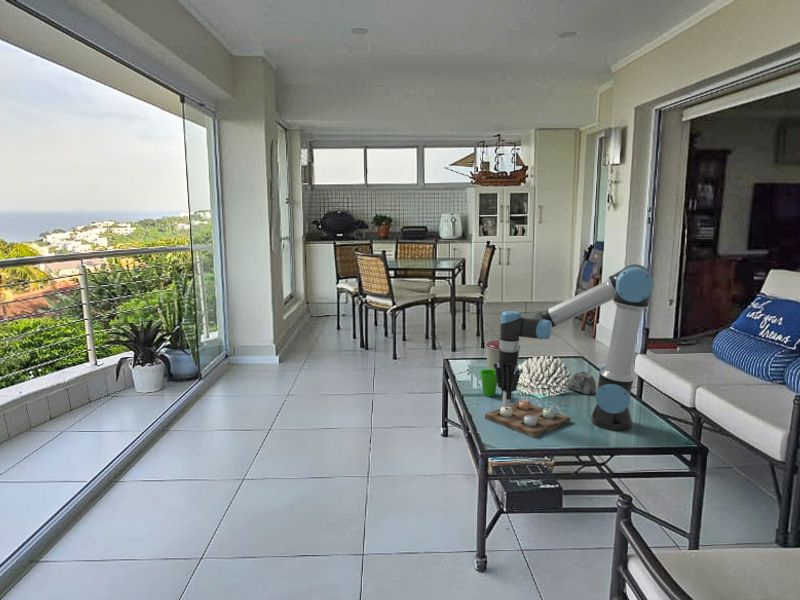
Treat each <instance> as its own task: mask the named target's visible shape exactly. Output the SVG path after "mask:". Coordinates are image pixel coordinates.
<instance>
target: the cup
mask: <svg viewBox="0 0 800 600" xmlns="http://www.w3.org/2000/svg"><path fill="white" fill-rule="evenodd" d="M479 373H480V378H481V383H482V391H483V392H482V393H483V395H485V397H487V396H493V397H494V396H495V395H496V391H497V388H498V384H497V377H496V370H493V369H488V368H484V369H480V371H479Z"/></svg>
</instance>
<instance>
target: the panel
mask: <svg viewBox="0 0 800 600" xmlns="http://www.w3.org/2000/svg"><path fill="white" fill-rule="evenodd" d="M508 407H511V408H512V417H511V418H504V417H501V416H500V408H499V409H495V410H492V411H490V412H486V413H485V414H484V419H485V418H486V419H485V420H487V419H488V421H490V420H491V422H492V421H493V423H495V422H496V423H495V424H497V423H498V424H497V425H500V424H501V426H502V425H503V427H505V426H506V427H505V428H507V427H508V429H510V428H511V429H510V430H512V431H515V430H516V431H515V432H518V433H520V432H521V434H523V433H524V434H523V435H525V434H526V436H528V435H529V436H528V437H530V436H531V438H533V437H534V438H536V437H538V435H539V436H540V434H541V435H544V434H545V433H548V432H550V431H553V430H555V429H557V428H560V427H562V426H564V425H566V424H569V423H570V422H571V416H567V415H564V414H562V413H558V412H557V411H555V419H553V420H548V419H545V418H543V409H545V408H544V407H541V406H538V405H535V404H532V403H531V410H530V411H522V410H520V409H519V401H518V402H515V403H513V404H509V406H508ZM526 415H532V416H535V417H537V426H536V427H527V426H525V425H524V416H526ZM535 436H536V437H535Z"/></svg>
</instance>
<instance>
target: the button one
mask: <svg viewBox="0 0 800 600" xmlns="http://www.w3.org/2000/svg"><path fill="white" fill-rule="evenodd" d="M499 409H500V416H501V417H504V418H507V419H508V418H511V417H512V408H511V407H502V406H501V407H500V408H499Z"/></svg>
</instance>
